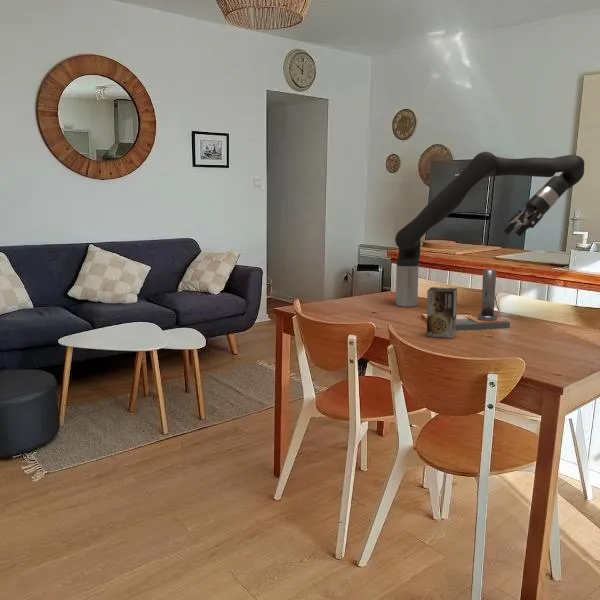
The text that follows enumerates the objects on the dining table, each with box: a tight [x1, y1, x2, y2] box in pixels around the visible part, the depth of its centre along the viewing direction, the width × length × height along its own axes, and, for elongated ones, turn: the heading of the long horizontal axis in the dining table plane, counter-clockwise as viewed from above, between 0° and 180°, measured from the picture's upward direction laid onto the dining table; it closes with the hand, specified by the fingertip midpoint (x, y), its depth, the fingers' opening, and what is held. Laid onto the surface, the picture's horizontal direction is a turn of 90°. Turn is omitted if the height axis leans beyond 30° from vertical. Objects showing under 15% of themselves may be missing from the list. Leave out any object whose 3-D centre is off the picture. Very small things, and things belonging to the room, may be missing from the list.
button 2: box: [467, 316, 507, 324], centre depth 211 cm, size 8×11×2 cm
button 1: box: [456, 315, 468, 324], centre depth 209 cm, size 5×5×2 cm
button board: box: [456, 316, 511, 332], centre depth 211 cm, size 10×22×2 cm, turn 99°
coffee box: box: [426, 286, 458, 339], centre depth 197 cm, size 9×6×16 cm
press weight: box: [476, 268, 498, 321], centre depth 209 cm, size 7×7×18 cm
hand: (511, 233), depth 213 cm, fingers open, 8 cm apart
